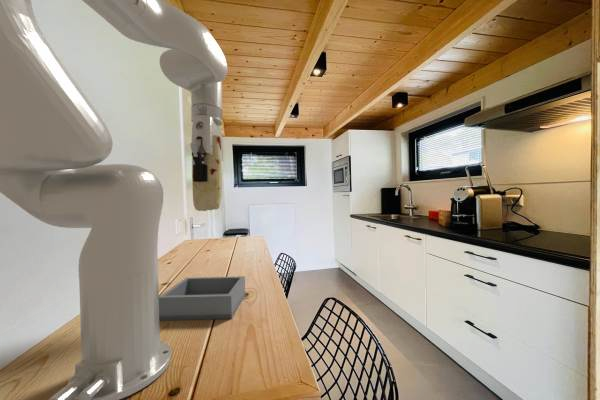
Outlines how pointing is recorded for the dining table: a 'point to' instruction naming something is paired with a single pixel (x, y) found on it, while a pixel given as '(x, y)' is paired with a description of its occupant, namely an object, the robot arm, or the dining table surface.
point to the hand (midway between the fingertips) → (207, 183)
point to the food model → (209, 180)
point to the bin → (202, 298)
